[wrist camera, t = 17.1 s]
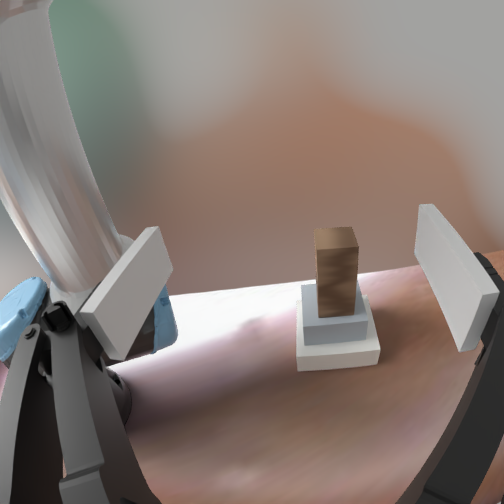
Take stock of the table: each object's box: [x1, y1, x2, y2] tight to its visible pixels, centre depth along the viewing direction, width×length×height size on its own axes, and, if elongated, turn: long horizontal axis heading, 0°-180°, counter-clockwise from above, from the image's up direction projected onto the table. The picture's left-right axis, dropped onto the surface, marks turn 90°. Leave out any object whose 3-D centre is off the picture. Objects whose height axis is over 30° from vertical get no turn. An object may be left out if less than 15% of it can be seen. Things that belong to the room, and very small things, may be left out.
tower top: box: [301, 280, 368, 346], centre depth 43 cm, size 9×9×4 cm
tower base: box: [296, 295, 380, 371], centre depth 45 cm, size 12×12×4 cm
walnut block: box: [314, 227, 359, 318], centre depth 39 cm, size 5×5×11 cm
